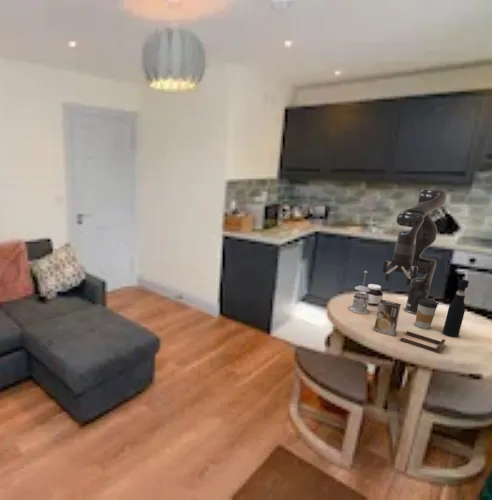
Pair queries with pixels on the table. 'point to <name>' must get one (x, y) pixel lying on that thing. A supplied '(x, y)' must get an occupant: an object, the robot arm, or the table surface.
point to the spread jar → (374, 294)
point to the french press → (359, 304)
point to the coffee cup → (425, 313)
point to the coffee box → (387, 317)
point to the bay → (438, 349)
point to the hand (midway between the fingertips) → (397, 283)
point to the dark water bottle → (456, 311)
